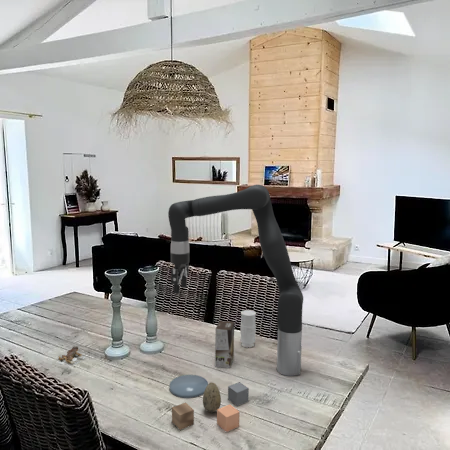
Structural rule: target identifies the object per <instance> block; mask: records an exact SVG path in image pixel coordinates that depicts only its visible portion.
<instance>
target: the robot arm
mask: <svg viewBox="0 0 450 450" xmlns="http://www.w3.org/2000/svg"><path fill="white" fill-rule="evenodd" d="M235 210H236V211H237V210H251V211H252V212H253V215H254V218H255V221H256V225H257V231H258V239H259V245H260V248H261V251H262V254H263V257H264V259H265V262H266V264H267V266H268V268H269V269H270V271H271V272H272V275H274V278H275V281H276V283H277V284H276V285H277V287H278V292H279V297H278V299H277V348H276V349H277V353H276V355H277V356H276V370H277V372H278V374H281V375H283V376H288V377H293V376H300V375H301V369H302V337H303V331H302V330H303V305H304V294H303V292H302V289H301V288H300V285H299V284H298V282H297V278H296V276H295V275H294V272H293V267H292V266H293V265H292V262H291V258H290V255H289V250H288V248H287V245H286V243H285V240H284V237H283V234H282V232H281V228H280V227H279V224H278V222H277V220H276V217H275V214H274V210H273V206H272V201H271V195H270V193H269V190H268V188H267V187H265V186H264V185H262V184H254V185H251V186H249V187H247V188H244V189H241V190H240V191H237V192H234V193H233V192H232V193H228V194H221V195H220V194H217V195H211V196H204V197H200V198H199V197H198V198H196V199H192V200H183V201H178V202H174V203H173V204H171V205H170V206H169V208H168V212H167V213H168V222H169V226H170V239H171V240H170V242H171V243H170V263H171V264H173V265H174V268H171V270H170V284H171V285H173V294H178V295H179V294H180V293H181V292H180V289H181V288H187V286H188V285H187V283H188V281H187V279H188V276H189V275H190V270H189V265H190V264H189V263H190V241H189V240H190V239H189V237H190V235H189V228H188V226H187V224H186V219H189V218H193V217H203V216H210V215H215V214H219V213H224V212H229V211H235Z"/></svg>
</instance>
